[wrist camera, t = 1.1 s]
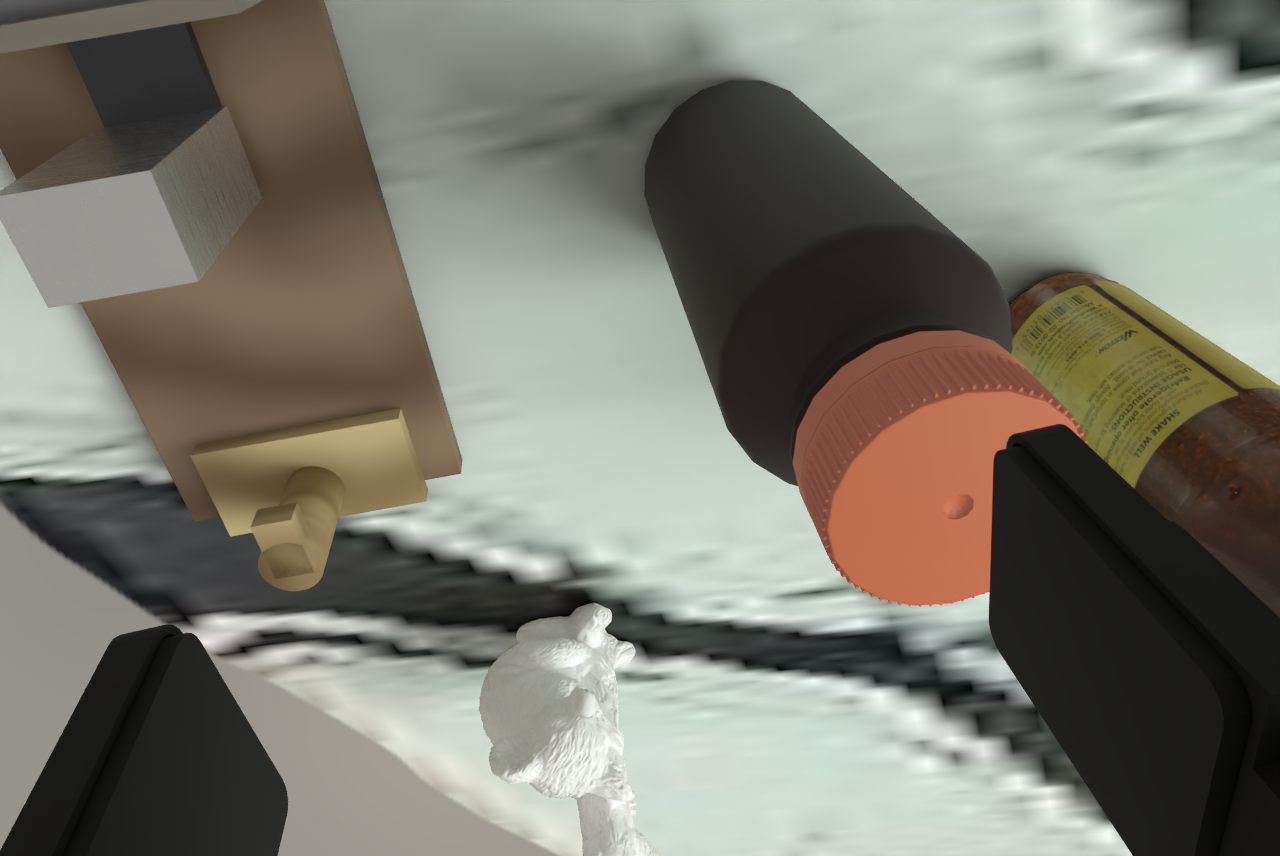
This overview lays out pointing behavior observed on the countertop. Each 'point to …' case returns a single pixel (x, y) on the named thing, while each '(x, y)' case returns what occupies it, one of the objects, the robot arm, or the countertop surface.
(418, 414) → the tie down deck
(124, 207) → the grey block
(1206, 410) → the sauce bottle
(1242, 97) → the countertop surface
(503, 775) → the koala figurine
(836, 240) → the vinegar
